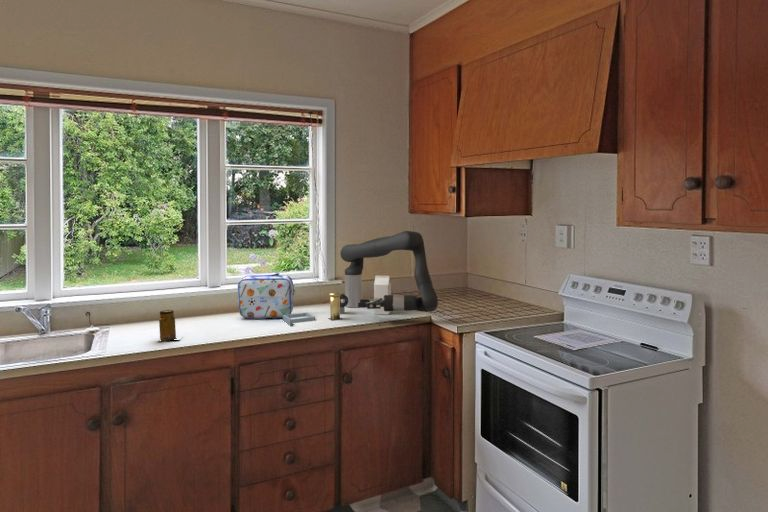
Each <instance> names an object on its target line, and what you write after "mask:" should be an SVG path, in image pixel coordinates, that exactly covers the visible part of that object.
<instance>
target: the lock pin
mask: <svg viewBox="0 0 768 512" xmlns="http://www.w3.org/2000/svg"><path fill="white" fill-rule="evenodd" d="M340 293H341V292H336V291H335V292H333V291H332V292H329V293H328V297H329V304H330V309H329V310H330V314H329V315H330V318H331V320H334V321H340V320H339V319H340V318H341V314H340ZM331 320H330V321H331Z"/></svg>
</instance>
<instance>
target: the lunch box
mask: <svg viewBox="0 0 768 512" xmlns="http://www.w3.org/2000/svg"><path fill="white" fill-rule="evenodd" d="M296 292H297V289H296V288H295V284H294V282H293V279H292V278H291V277H290V275H284V274H283V275H280V273H279V272H277V273H274V274H259V275H258V274H256V275H255V274H254V275H253V274H252V275H246V276H242V278H241V279H240V280H239V281H238V284H237V299H238V311H239V315H240V316H241V317H242V318H243V319H244V318H245V319H250V320H251V319H253V320H254V319H256V320H257V319H258V320H259V319H260V320H267V319H266V318H272V319H283V315H288V314H292V312H293V310H294V295H295V293H296Z"/></svg>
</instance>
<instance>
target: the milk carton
mask: <svg viewBox="0 0 768 512" xmlns="http://www.w3.org/2000/svg"><path fill="white" fill-rule="evenodd" d="M373 290H374V291H373V297H374V298H383V300H384V295H392V283H391V279H390V275H375V277H374V283H373ZM373 310H374V315H387V316H388V315H390V313H391V312H392V311H384V307H381V308H380V309H373Z"/></svg>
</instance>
